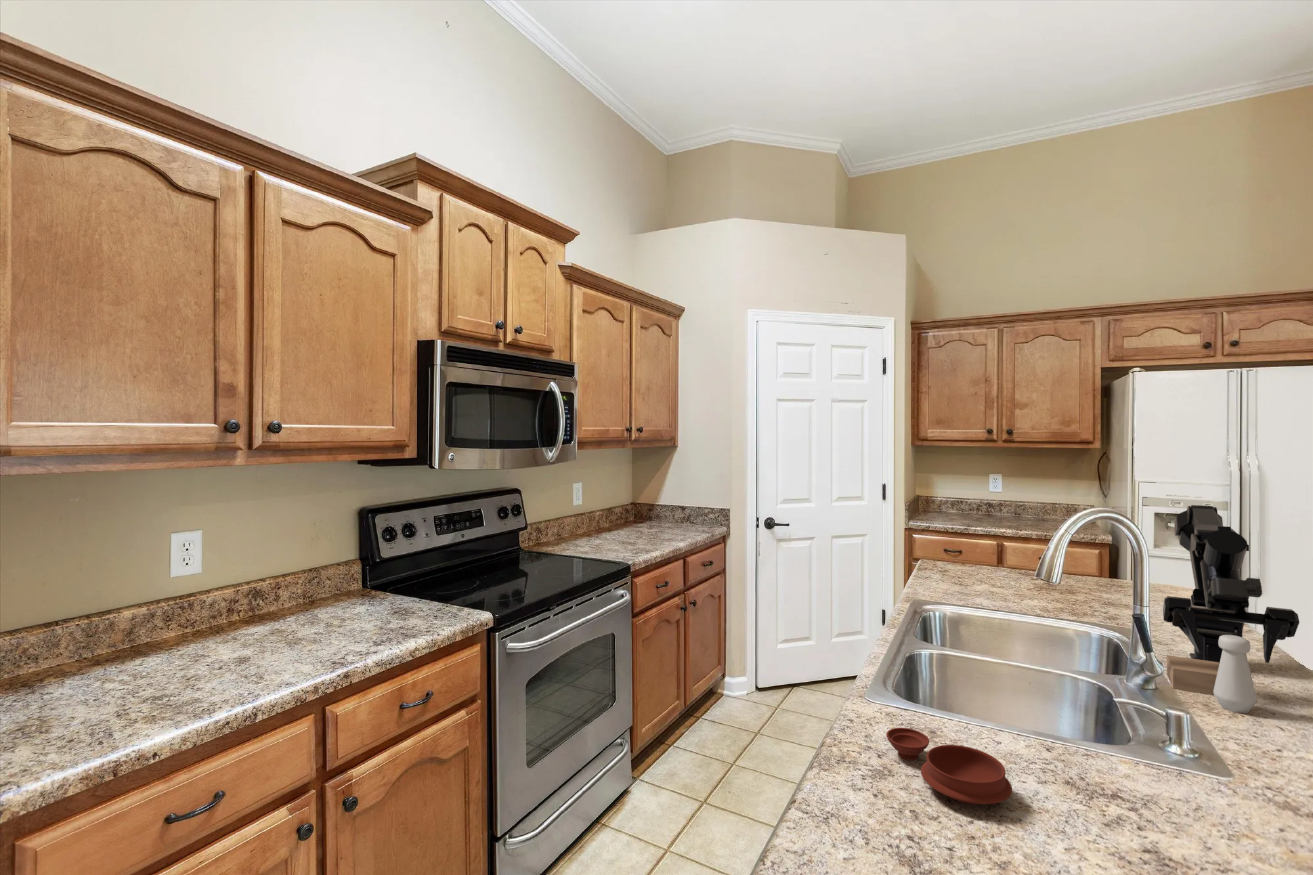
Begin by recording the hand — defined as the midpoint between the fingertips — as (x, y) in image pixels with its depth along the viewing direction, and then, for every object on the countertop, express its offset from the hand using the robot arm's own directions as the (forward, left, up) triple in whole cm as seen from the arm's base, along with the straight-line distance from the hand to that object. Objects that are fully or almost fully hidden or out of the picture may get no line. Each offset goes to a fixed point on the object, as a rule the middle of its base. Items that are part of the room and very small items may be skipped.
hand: (1233, 656), depth 114 cm
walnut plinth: (-8, -4, -9) cm, 12 cm away
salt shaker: (+1, 0, -9) cm, 9 cm away
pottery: (+51, -42, -9) cm, 67 cm away
